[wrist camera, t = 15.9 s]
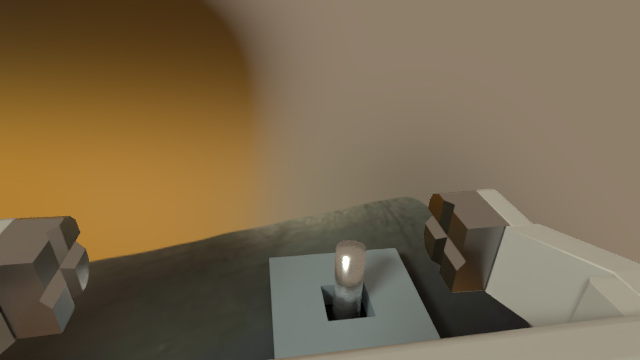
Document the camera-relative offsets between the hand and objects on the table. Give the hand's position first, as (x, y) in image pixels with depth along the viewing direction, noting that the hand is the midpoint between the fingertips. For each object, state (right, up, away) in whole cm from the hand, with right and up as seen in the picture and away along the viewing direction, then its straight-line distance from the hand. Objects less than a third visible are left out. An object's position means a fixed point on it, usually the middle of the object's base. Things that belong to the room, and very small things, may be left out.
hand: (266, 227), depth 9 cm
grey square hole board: (+4, -14, +35) cm, 38 cm away
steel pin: (+4, -15, +35) cm, 38 cm away
